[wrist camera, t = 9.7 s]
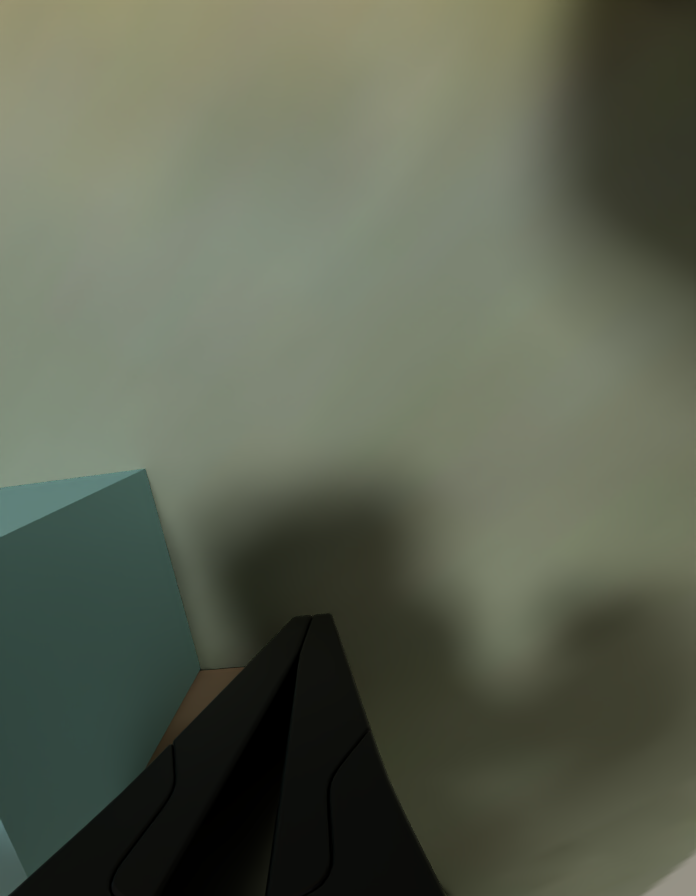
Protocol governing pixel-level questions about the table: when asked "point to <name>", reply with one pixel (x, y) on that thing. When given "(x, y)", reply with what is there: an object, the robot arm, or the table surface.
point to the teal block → (81, 656)
